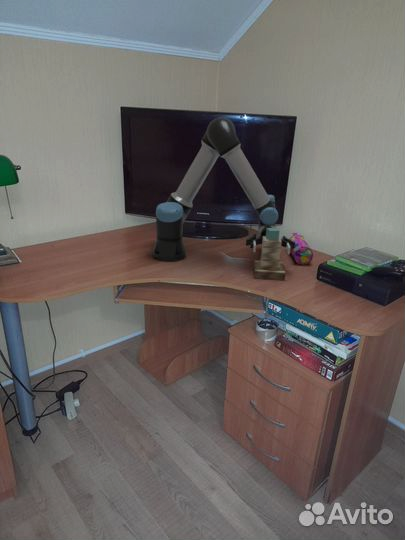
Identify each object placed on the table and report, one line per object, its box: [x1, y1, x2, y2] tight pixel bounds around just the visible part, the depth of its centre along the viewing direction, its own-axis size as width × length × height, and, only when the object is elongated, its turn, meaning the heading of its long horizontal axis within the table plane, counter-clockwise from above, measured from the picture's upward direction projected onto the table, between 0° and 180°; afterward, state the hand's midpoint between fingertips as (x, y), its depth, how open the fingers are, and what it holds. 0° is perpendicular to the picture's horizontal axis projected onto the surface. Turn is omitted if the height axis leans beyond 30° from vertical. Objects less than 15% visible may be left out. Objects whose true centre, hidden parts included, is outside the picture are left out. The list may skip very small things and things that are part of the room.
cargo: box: [266, 227, 280, 241], centre depth 154 cm, size 4×4×4 cm
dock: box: [253, 260, 286, 281], centre depth 159 cm, size 12×12×3 cm
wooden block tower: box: [258, 236, 282, 271], centre depth 157 cm, size 8×7×12 cm
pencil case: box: [288, 232, 314, 266], centre depth 179 cm, size 22×9×9 cm, turn 179°
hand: (271, 250), depth 153 cm, fingers open, 13 cm apart
